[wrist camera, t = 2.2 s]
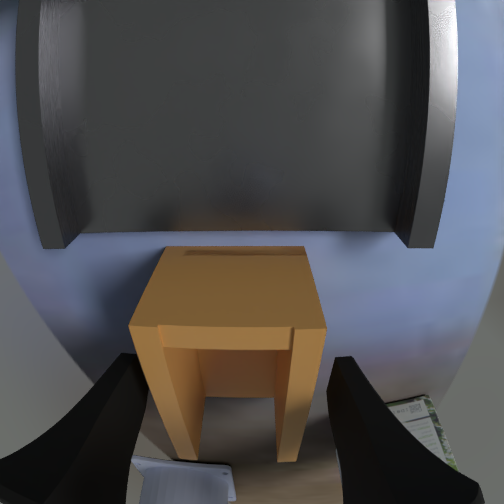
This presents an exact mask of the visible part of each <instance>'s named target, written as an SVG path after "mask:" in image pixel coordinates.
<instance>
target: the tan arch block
mask: <svg viewBox="0 0 504 504" xmlns="http://www.w3.org/2000/svg"><path fill="white" fill-rule="evenodd" d="M128 326H129V330H130V333H131V336H132V339H133V342H134V345H135V348H136V351H137V354H138V357H139V360H140V363H141V366H142V369H143V372H144V374H145V377H146V380H147V383H148V385H149V388H150V391H151V393H152V396H153V398H154V401H155V403H156V406H157V408H158V411H159V413H160V416H161V418H162V421H163V423H164V425H165V428H166V430H167V432H168V434H169V437H170V439H171V441H172V443H173V446H174V448H175V450H176V452H177V454H178V456H179V458H180V459H188V460H198V453H199V445H200V436H201V428H202V420H203V412H204V405H205V397H206V396H207V397H237V398H272V397H274V403H275V423H276V445H277V462H294V461H296V459H297V456H298V452H299V449H300V445H301V441H302V438H303V434H304V430H305V426H306V422H307V418H308V414H309V410H310V406H311V402H312V397H313V393H314V389H315V384H316V380H317V375H318V371H319V366H320V361H321V356H322V352H323V347H324V342H325V336H326V331H327V327H326V323H325V319H324V315H323V312H322V308H321V304H320V300H319V297H318V293H317V290H316V286H315V282H314V279H313V275H312V272H311V268H310V265H309V261H308V258H307V254H306V251H305V248H304V246H166V248H165V250H164V252H163V254H162V256H161V258H160V260H159V262H158V264H157V266H156V268H155V270H154V272H153V274H152V276H151V278H150V280H149V282H148V284H147V286H146V288H145V290H144V292H143V295H142V297H141V299H140V301H139V303H138V305H137V307H136V310H135V312H134V314H133V316H132V318H131V320H130V323H129V325H128Z"/></svg>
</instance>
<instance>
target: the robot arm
mask: <svg viewBox="0 0 504 504" xmlns="http://www.w3.org/2000/svg"><path fill="white" fill-rule="evenodd" d="M148 389H149V387H148V385H147V382H146V379H145V377H144V374H143V371H142V368H141V366H140V363H139V360H138V357H137V354H129V353H121V354H120V355H119V356H118V358H117V359H116V360H115V361H114V362H113V363H112V365H111V366H110V367H109V368H108V369H107V371H106V372H105V373H104V374H103V375H102V377H101V378H100V379H99V380H98V381H97V382H96V383H95V385H94V386H93V387H92V388H91V389H90V390H89V392H88V393H87V394H86V395H85V396H84V397H83V398H82V399H81V400H80V401H79V402H78V403H77V404H76V405H75V406H74V407H73V408H72V409H71V410H70V411H69V412H68V413H67V414H66V415H65V416H64V417H63V418H62V419H61V420H60V421H59V422H57V423H56V424H55V425H54V426H53V427H51V428H50V429H49V430H47V431H46V432H45V433H44V434H42V435H41V436H40V437H38V438H37V439H36V440H34V441H32V442H31V443H29V444H28V445H26V446H24V447H23V448H21V449H20V450H18V451H16V452H14V453H13V454H11V455H9V456H7V457H4V458H2V459H0V502H1V503H3V504H126V492H127V482H128V476H129V469H130V463H131V461H132V463H133V464H134V465H135V467H136V468H137V469H138V470H139V472H140V473H141V474H142V476H143V477H144V481H143V486H142V491H141V496H140V502H139V504H228V501H235V500H236V493H235V487H234V481H233V475H232V469H231V467H230V466H228V465H216V464H201V463H189V462H179V461H170V460H162V459H155V458H149V457H142V456H137V455H133V451H134V448H135V444H136V441H137V437H138V433H139V430H140V427H141V423H142V420H143V417H144V413H145V408H146V402H147V396H148ZM326 392H327V402H328V412H329V418H330V423H331V427H332V432H333V436H334V440H335V445H336V449H337V454H338V458H339V463H340V469H341V477H342V489H343V504H484V503H485V501H484V498H483V494H482V491H481V488H480V486H479V484H478V483H477V482H475V481H474V480H472V479H470V478H468V477H467V476H465V475H463V474H461V473H460V472H458V471H456V470H455V469H454V468H452V467H451V466H449V465H448V464H446V463H445V462H444V461H442V460H441V459H440V458H439V457H437V456H436V455H435V454H434V453H432V452H431V451H430V450H429V449H427V448H426V447H425V446H424V445H423V444H422V443H421V442H420V441H418V440H417V439H416V438H415V437H414V436H413V435H412V434H411V433H410V432H409V431H408V430H407V429H406V428H405V427H404V425H403V424H402V423H401V422H400V421H399V420H398V419H397V418H396V416H395V415H394V414H393V413H392V412H391V410H390V409H389V408H388V407H387V405H386V404H385V403H384V402H383V400H382V399H381V398H380V396H379V395H378V394H377V392H376V391H375V390H374V388H373V387H372V385H371V384H370V382H369V381H368V380H367V378H366V377H365V375H364V374H363V372H362V371H361V369H360V368H359V366H358V364H357V363H356V361H355V360H354V358H353V357H352V356H347V357H335V360H334V364H333V368H332V372H331V376H330V380H329V383H328V387H327V391H326Z"/></svg>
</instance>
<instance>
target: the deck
mask: <svg viewBox="0 0 504 504" xmlns="http://www.w3.org/2000/svg"><path fill="white" fill-rule="evenodd" d="M457 83H458V40H457V20H456V8H455V0H19V6H18V16H17V30H16V97H17V112H18V123H19V132H20V141H21V148H22V155H23V162H24V168H25V173H26V179H27V184H28V189H29V194H30V199H31V203H32V208H33V212H34V216H35V220H36V224H37V228H38V232H39V236H40V239H41V243H42V246H43V249H65V248H66V247H67V246H68V245H69V244H70V243H71V242H72V241H73V240H74V239H75V238H76V237H77V236H78V235H79V234H80V233H100V232H146V231H242V230H278V231H374V232H395V234H396V235H397V236H398V237H399V238H400V239H401V241H402V242H403V243H404V244H405V245H406V247H407V248H433V247H434V243H435V239H436V235H437V231H438V227H439V222H440V218H441V213H442V208H443V203H444V198H445V193H446V187H447V181H448V175H449V169H450V162H451V155H452V147H453V139H454V129H455V118H456V104H457Z"/></svg>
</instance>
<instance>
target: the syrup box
mask: <svg viewBox="0 0 504 504" xmlns="http://www.w3.org/2000/svg"><path fill="white" fill-rule="evenodd" d="M386 405H387V407H388V408H389V409H390V410H391V412H392V413H393V414H394V415H395V416H396V418H397V419H398V420H399V421H400V422H401V423H402V424H403V425H404V427H405V428H406V429H407V430H408V431H409V432H410V433H411V434H412V435H413V436H414V437H415V438H416V439H417V440H418V441H420V442H421V443H422V444H423V445H424V446H425V447H426V448H427V449H429V450H430V451H431V452H432V453H434V454H435V455H436V456H437V457H439V458H440V459H441V460H442V461H444V462H445V463H446V464H448V465H449V466H451V467H452V468H454V469H455V470H456V471H458V468H457V465H456V463H455V460H454V457H453V454H452V452H451V449H450V446H449V443H448V441H447V438H446V436H445V433H444V431H443V428H442V426H441V423H440V421H439V418H438V416H437V413H436V411H435V408H434V406H433V404H432V401H431V399H430V397H429V395H426V396H421V397H417V398H413V399H409V400H404V401H399V402H394V403H389V404H386ZM336 456H337V462H338V467H339V472H340V477H341V469H340V463H339V458H338V454H337V449H336ZM458 472H459V471H458ZM341 482H342V477H341Z"/></svg>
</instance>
